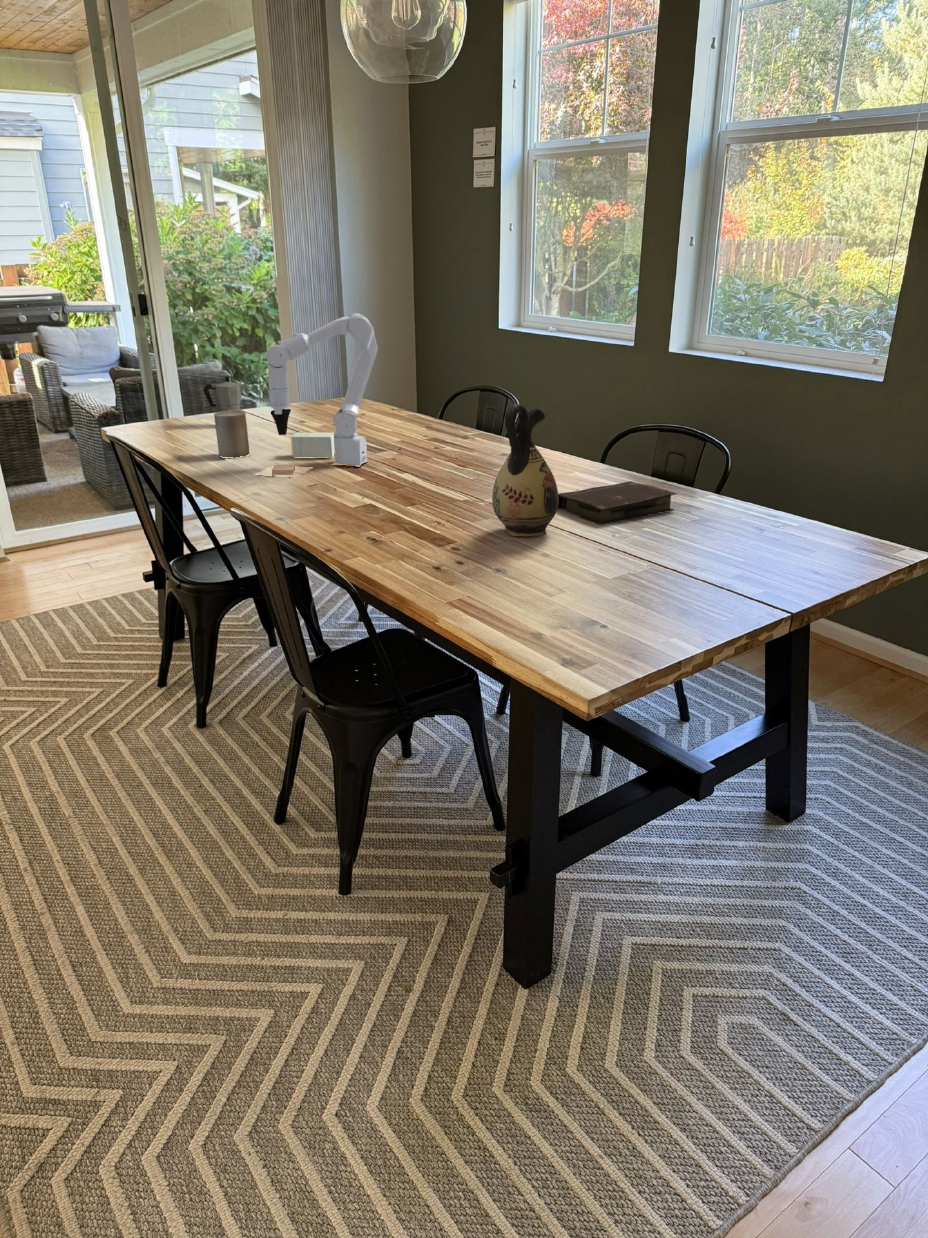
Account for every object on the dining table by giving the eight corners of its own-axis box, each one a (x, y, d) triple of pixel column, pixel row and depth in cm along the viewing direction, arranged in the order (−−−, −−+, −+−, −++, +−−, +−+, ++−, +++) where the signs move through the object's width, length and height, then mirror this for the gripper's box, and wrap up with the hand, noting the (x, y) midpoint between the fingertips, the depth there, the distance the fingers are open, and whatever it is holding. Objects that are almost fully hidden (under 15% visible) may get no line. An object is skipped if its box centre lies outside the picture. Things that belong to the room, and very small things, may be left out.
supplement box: (292, 459, 277) (332, 459, 277) (290, 436, 274) (330, 436, 274) (297, 455, 284) (336, 455, 284) (295, 431, 281) (335, 431, 281)
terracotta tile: (274, 465, 261) (271, 470, 255) (294, 465, 261) (292, 469, 256) (274, 471, 262) (272, 476, 256) (295, 471, 262) (293, 475, 256)
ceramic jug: (517, 518, 219) (520, 395, 207) (569, 530, 210) (576, 402, 198) (473, 534, 207) (474, 404, 195) (527, 548, 198) (532, 412, 186)
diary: (554, 510, 228) (555, 491, 226) (627, 497, 240) (629, 479, 238) (601, 527, 213) (603, 507, 211) (677, 512, 225) (679, 493, 224)
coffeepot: (250, 423, 333) (245, 374, 326) (250, 428, 325) (245, 377, 318) (208, 424, 330) (202, 375, 323) (207, 429, 322) (201, 378, 315)
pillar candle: (254, 453, 286) (249, 406, 280) (244, 459, 277) (239, 411, 271) (225, 452, 287) (219, 405, 281) (214, 459, 278) (208, 411, 272)
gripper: (267, 384, 265) (271, 429, 270) (262, 391, 252) (266, 439, 257) (291, 384, 266) (294, 429, 271) (287, 391, 252) (290, 439, 258)
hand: (282, 434), depth 264 cm, fingers closed
